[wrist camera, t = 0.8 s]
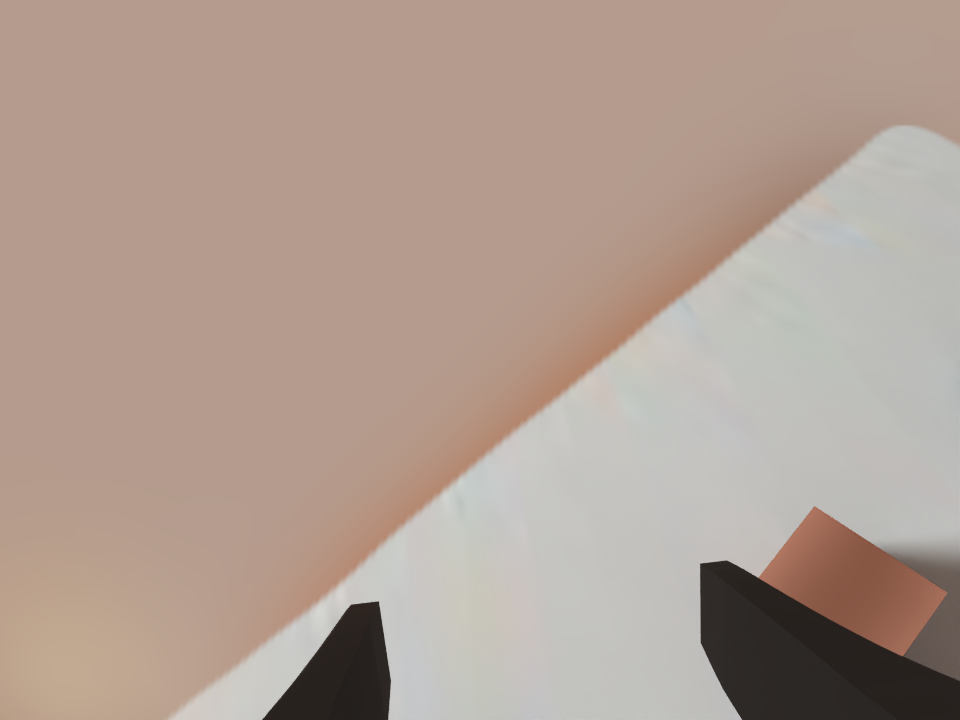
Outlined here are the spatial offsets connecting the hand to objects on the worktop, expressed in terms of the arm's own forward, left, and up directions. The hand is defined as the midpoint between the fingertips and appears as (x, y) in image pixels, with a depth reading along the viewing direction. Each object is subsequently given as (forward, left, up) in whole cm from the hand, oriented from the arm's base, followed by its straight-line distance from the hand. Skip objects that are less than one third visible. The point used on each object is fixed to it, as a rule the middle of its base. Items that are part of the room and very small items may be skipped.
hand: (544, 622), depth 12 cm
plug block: (-4, -6, -16) cm, 17 cm away
